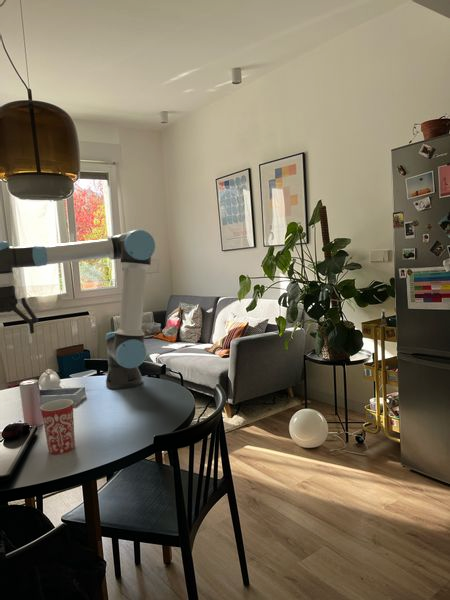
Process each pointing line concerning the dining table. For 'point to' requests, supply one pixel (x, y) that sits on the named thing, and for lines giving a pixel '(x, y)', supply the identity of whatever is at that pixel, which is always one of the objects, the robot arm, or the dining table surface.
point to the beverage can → (31, 402)
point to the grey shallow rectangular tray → (63, 394)
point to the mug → (59, 425)
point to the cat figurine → (49, 380)
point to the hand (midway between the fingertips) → (10, 345)
